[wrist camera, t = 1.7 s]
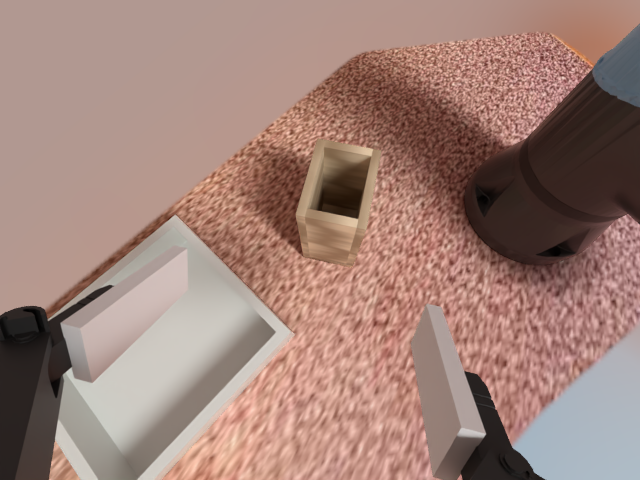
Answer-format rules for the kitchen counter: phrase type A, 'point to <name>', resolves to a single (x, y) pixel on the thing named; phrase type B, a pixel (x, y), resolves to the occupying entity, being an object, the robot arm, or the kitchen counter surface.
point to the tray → (168, 368)
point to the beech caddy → (336, 201)
